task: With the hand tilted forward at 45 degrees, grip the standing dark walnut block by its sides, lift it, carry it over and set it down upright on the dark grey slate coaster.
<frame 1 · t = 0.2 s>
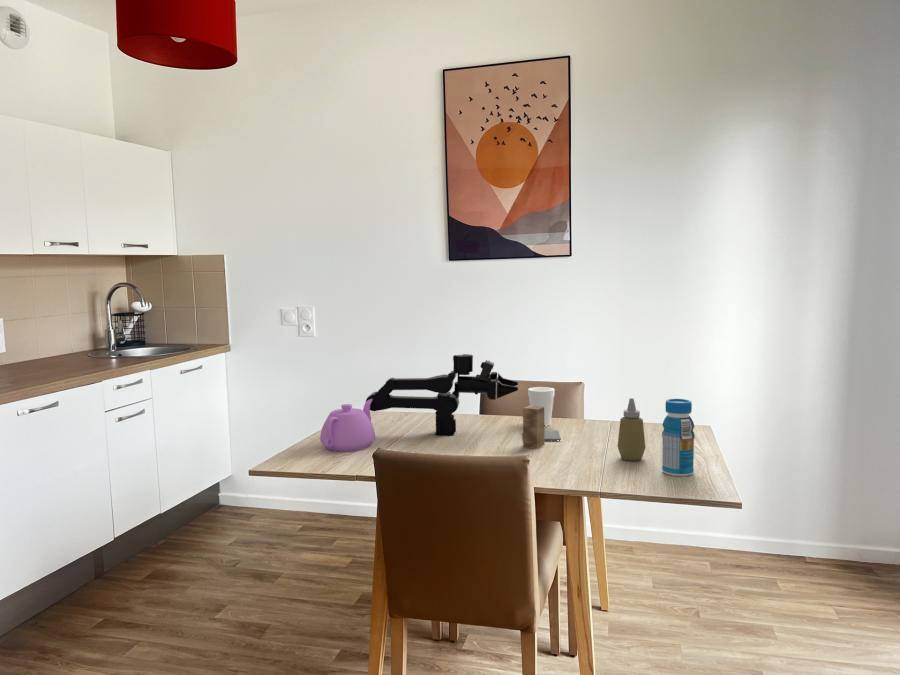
hand: (517, 386, 236), 17 cm above the table, tool horizontal, fingers open, 9 cm apart
beverage bottle: (677, 473, 189), on the table
teapot: (350, 445, 227), on the table
walnut block: (533, 445, 221), on the table
foam cup: (541, 424, 251), on the table
slate coaster: (541, 436, 232), on the table
squeeze bottle: (631, 459, 203), on the table
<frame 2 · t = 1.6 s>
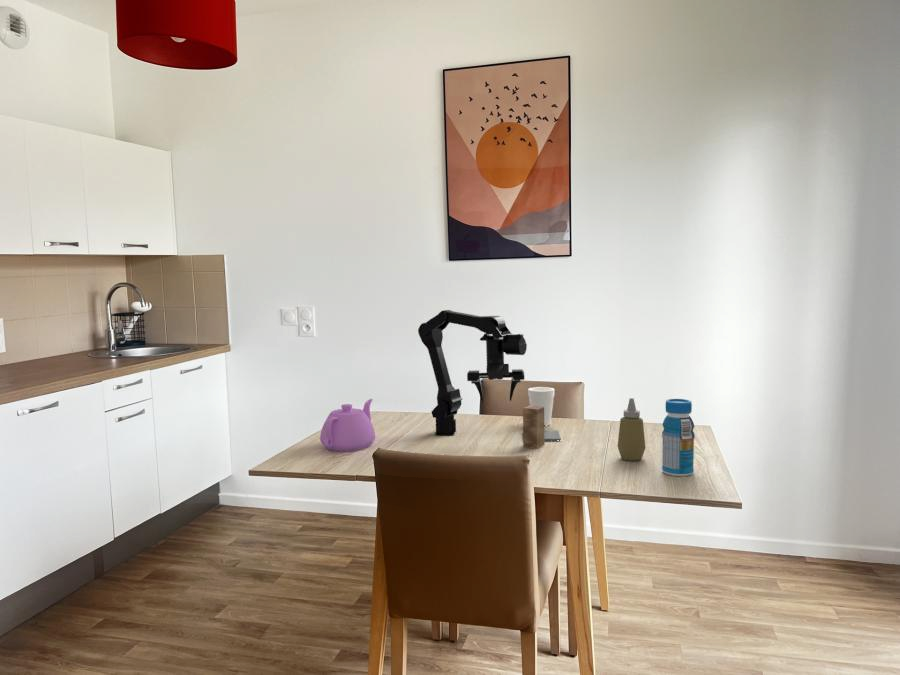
hand: (496, 401, 228), 13 cm above the table, tool pointing down, fingers open, 9 cm apart
nothing on the table moved.
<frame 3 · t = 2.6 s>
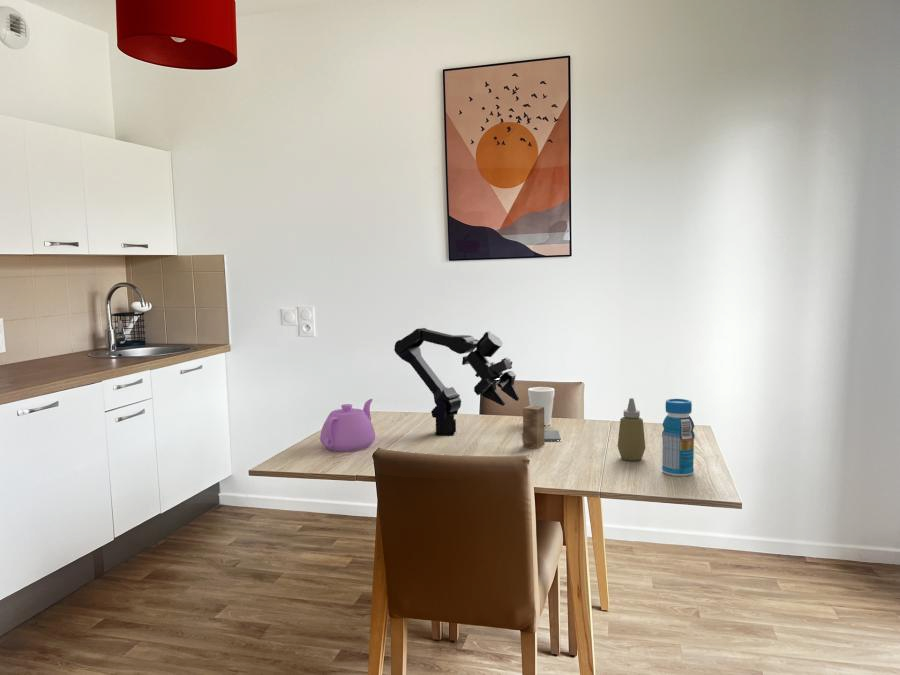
hand: (511, 402, 224), 13 cm above the table, tool tilted 45°, fingers open, 9 cm apart
nothing on the table moved.
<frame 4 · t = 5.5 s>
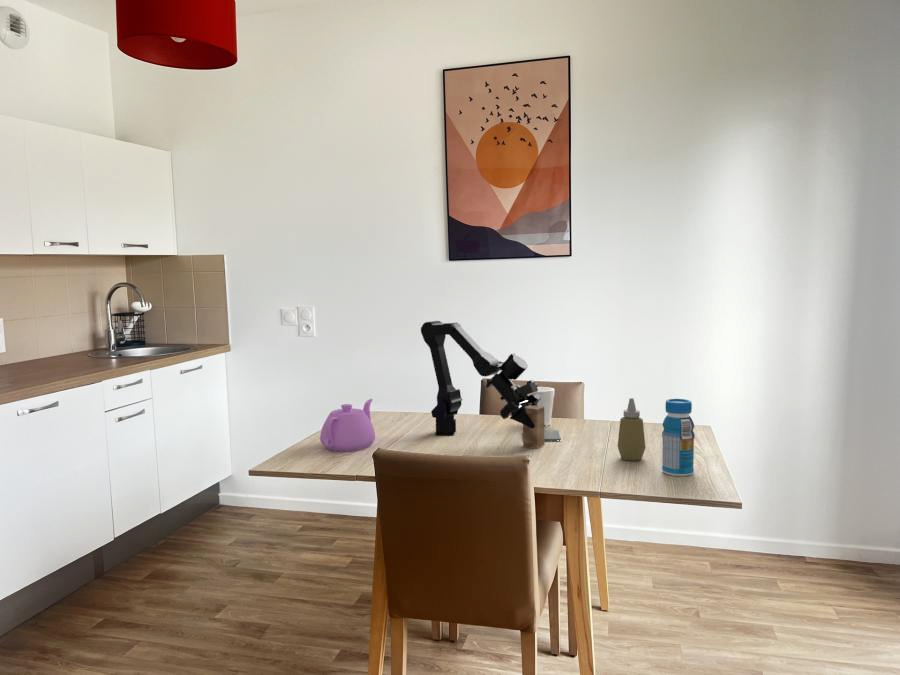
hand: (537, 426, 219), 7 cm above the table, tool tilted 45°, fingers closed on walnut block, 5 cm apart
walnut block: (533, 445, 221), on the table, touching gripper
everything else where it was.
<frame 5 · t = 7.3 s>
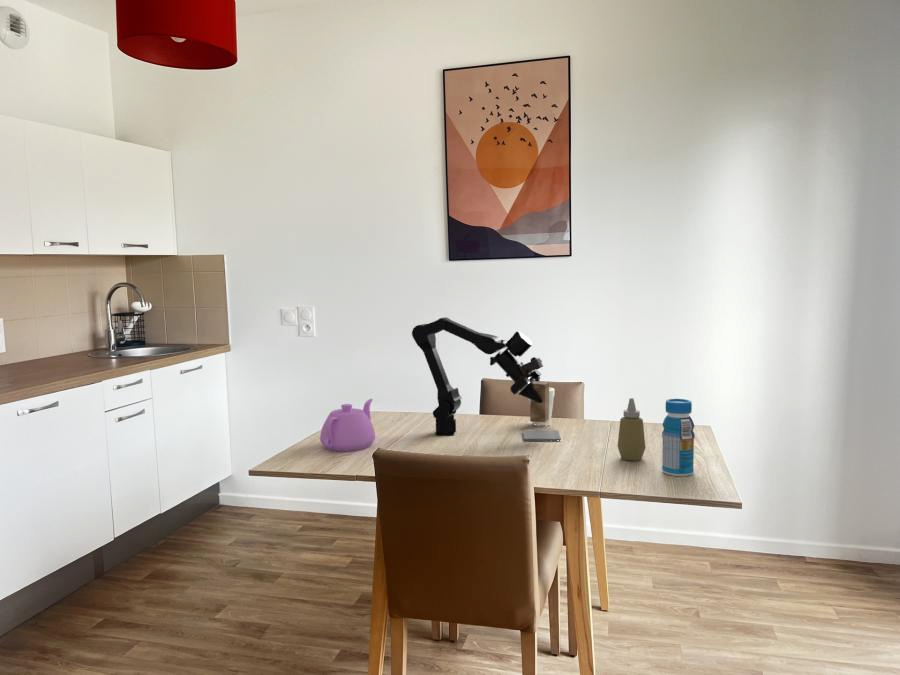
hand: (543, 400, 226), 13 cm above the table, tool tilted 45°, fingers closed on walnut block, 5 cm apart
walnut block: (539, 420, 227), point 7 cm above the table, touching gripper
everything else where it was.
when the fingers open (8 cm above the table, at t = 9.2 s): walnut block stays where it is, resting on slate coaster.
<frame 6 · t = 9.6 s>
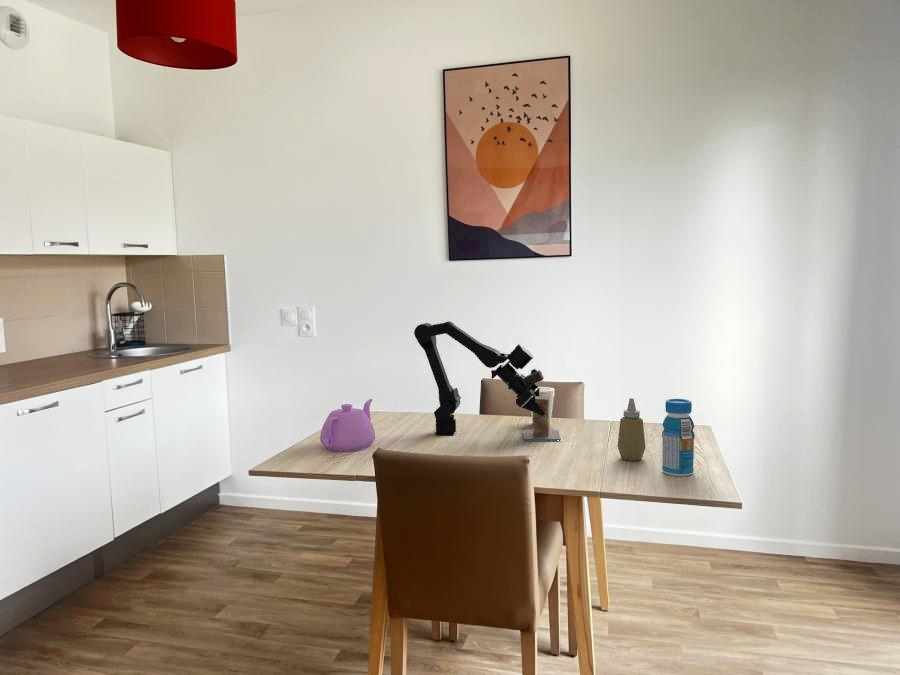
hand: (545, 411, 231), 9 cm above the table, tool tilted 45°, fingers open, 9 cm apart
walnut block: (541, 434, 232), point 1 cm above the table, touching slate coaster
everything else where it was.
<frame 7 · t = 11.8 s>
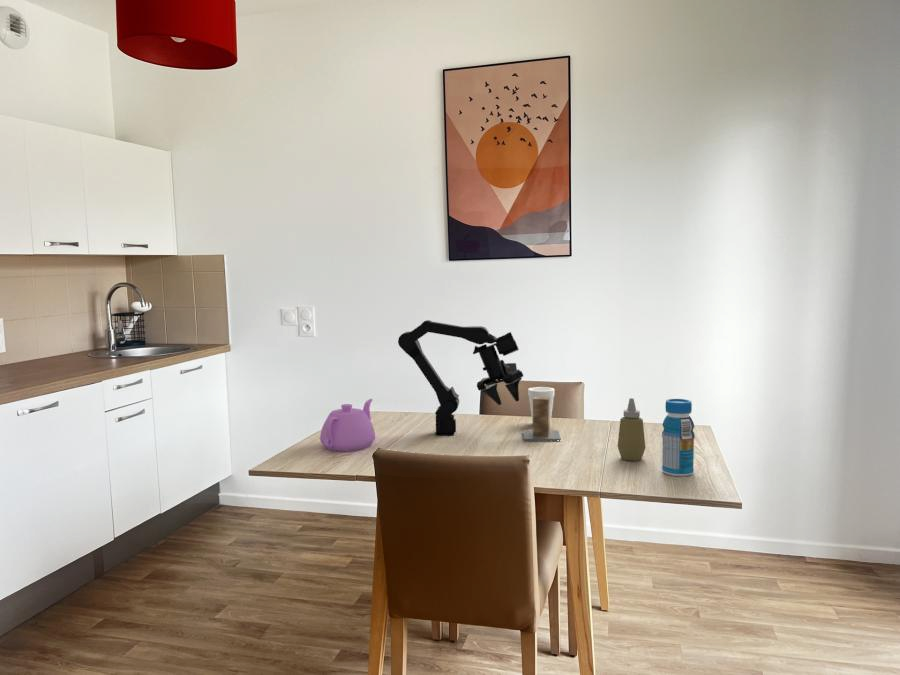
hand: (508, 402, 237), 11 cm above the table, tool tilted 20°, fingers open, 9 cm apart
nothing on the table moved.
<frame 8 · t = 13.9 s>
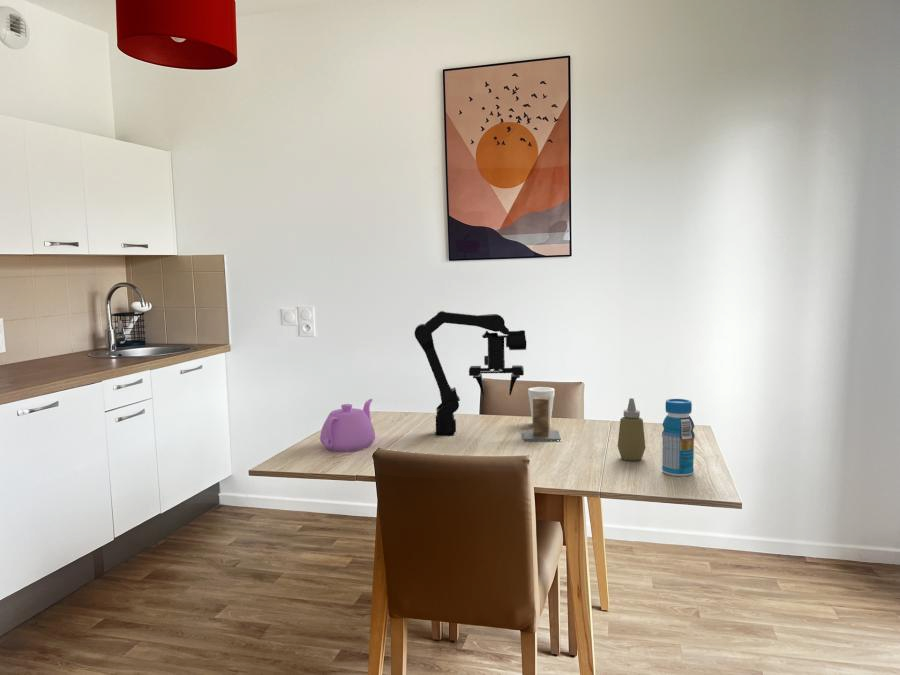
hand: (496, 395, 239), 13 cm above the table, tool pointing down, fingers open, 9 cm apart
nothing on the table moved.
at the end: walnut block inside the target area on the slate coaster (0.0 cm from its centre), point 0.8 cm above the slate coaster's base; walnut block tilted 0°; the gripper is holding nothing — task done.
